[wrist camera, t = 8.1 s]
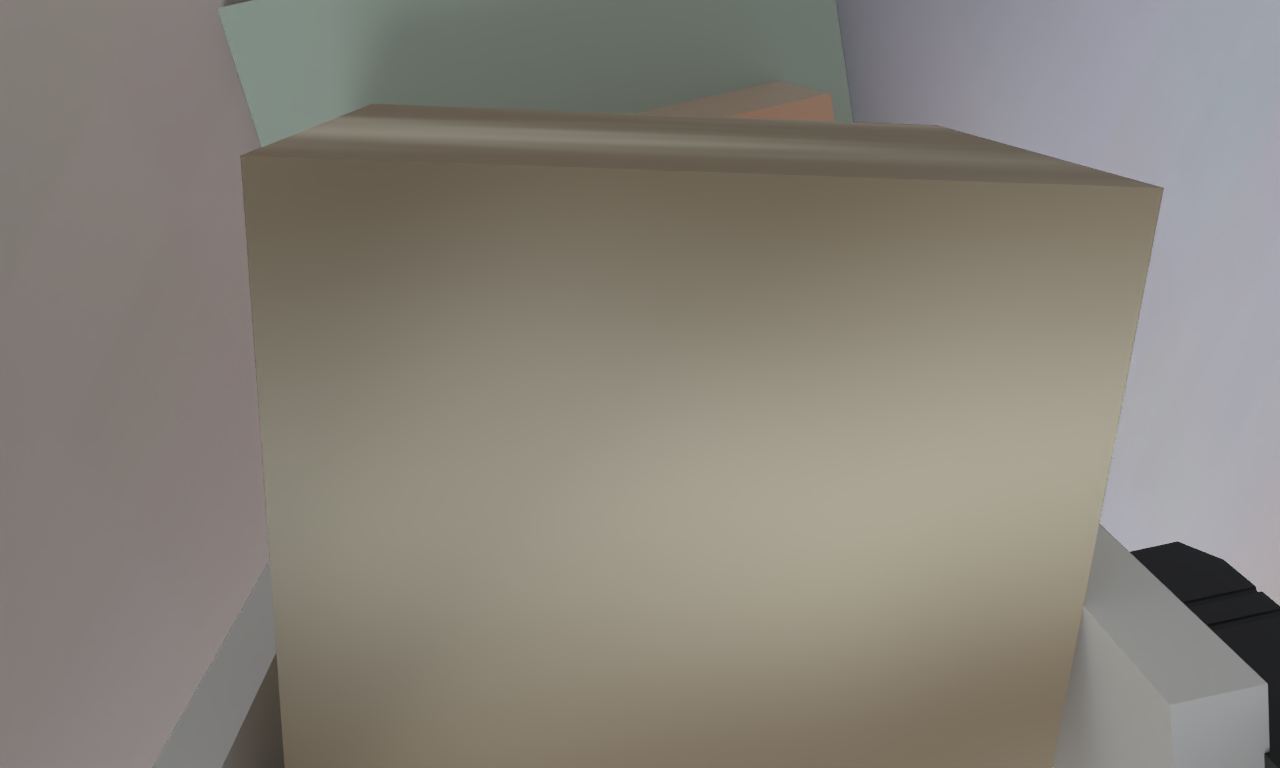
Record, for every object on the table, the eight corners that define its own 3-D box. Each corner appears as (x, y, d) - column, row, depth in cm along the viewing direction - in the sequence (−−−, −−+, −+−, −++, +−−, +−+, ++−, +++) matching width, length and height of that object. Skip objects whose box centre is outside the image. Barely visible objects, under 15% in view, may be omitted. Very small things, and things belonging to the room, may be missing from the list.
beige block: (841, 891, 17) (957, 1263, 12) (399, 896, 17) (321, 1286, 12) (937, 125, 14) (1163, 188, 8) (371, 103, 13) (240, 155, 8)
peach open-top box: (846, 483, 27) (903, 579, 23) (458, 568, 27) (435, 682, 23) (779, 80, 24) (830, 93, 19) (341, 178, 24) (285, 215, 19)
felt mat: (919, 599, 29) (923, 607, 29) (444, 703, 29) (443, 712, 29) (813, -125, 23) (817, -128, 23) (222, 8, 23) (216, 7, 23)
